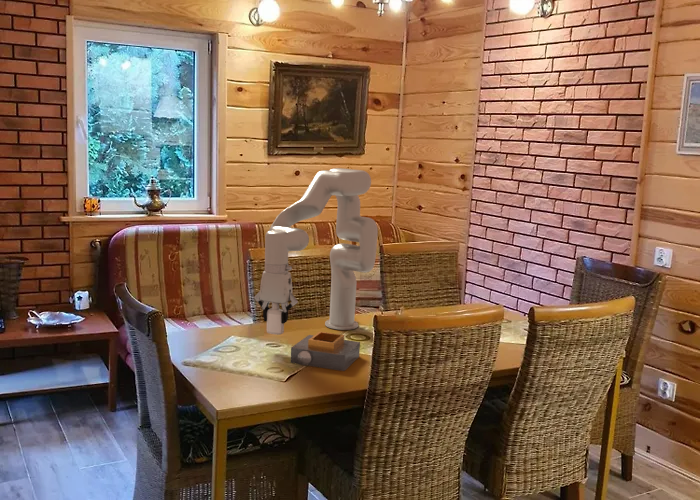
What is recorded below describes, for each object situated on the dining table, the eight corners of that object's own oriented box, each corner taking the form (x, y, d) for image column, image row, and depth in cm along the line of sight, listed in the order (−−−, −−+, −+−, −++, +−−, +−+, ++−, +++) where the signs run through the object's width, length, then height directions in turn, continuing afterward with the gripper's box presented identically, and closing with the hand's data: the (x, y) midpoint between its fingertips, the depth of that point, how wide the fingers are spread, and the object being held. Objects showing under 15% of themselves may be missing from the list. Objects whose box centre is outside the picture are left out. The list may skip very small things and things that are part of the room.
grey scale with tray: (309, 348, 246) (310, 326, 244) (360, 355, 240) (361, 333, 239) (289, 363, 228) (290, 340, 227) (343, 372, 223) (344, 348, 222)
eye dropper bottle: (275, 336, 237) (275, 300, 235) (264, 332, 241) (265, 297, 239) (285, 333, 240) (286, 298, 238) (275, 329, 244) (275, 295, 242)
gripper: (304, 268, 237) (303, 321, 241) (257, 263, 242) (256, 315, 246) (296, 273, 230) (295, 327, 234) (247, 267, 235) (246, 321, 239)
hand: (275, 320), depth 240 cm, fingers closed on eye dropper bottle, 5 cm apart
